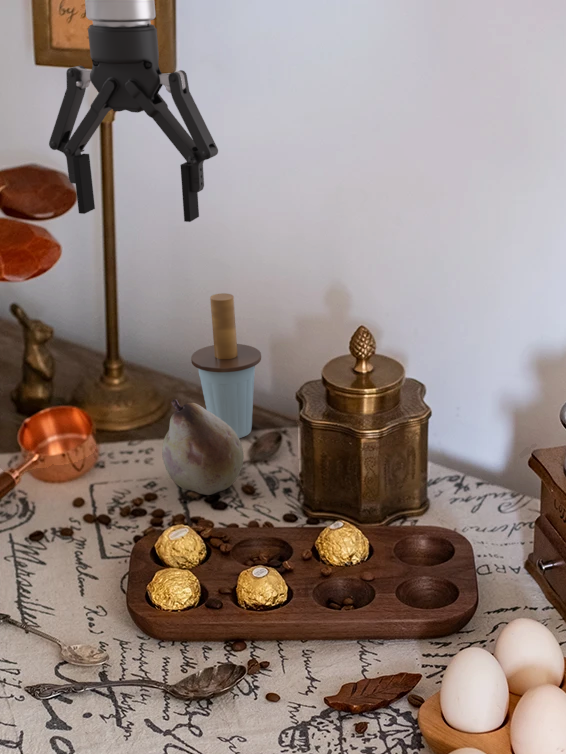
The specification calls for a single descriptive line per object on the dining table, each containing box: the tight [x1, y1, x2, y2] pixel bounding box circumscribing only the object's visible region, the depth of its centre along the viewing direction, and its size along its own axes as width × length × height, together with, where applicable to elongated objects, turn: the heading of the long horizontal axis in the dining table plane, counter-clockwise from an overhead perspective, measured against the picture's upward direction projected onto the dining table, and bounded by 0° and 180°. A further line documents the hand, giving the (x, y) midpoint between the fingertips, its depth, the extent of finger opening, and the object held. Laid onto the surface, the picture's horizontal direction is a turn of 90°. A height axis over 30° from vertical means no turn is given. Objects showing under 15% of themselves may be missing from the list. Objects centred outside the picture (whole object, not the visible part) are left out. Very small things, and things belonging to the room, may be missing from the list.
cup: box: [197, 365, 256, 439], centre depth 149 cm, size 8×8×10 cm
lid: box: [190, 292, 262, 372], centre depth 144 cm, size 9×9×9 cm
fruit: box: [161, 398, 245, 496], centre depth 134 cm, size 10×9×12 cm
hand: (138, 215), depth 132 cm, fingers open, 13 cm apart
